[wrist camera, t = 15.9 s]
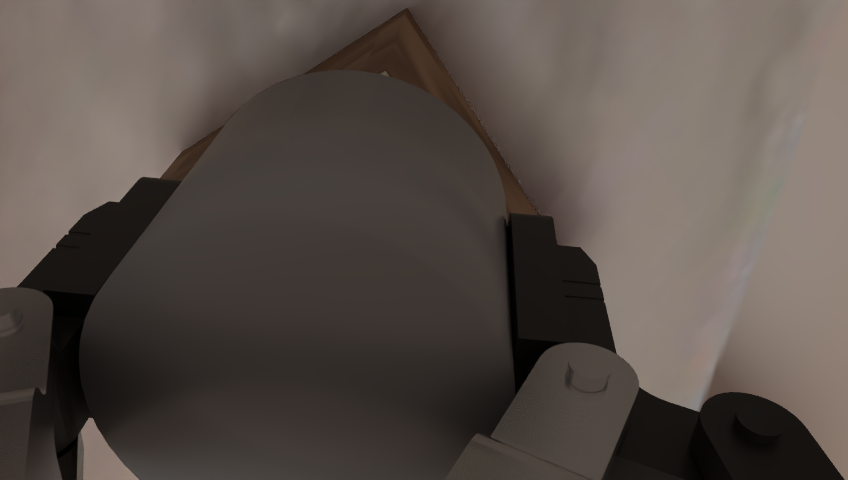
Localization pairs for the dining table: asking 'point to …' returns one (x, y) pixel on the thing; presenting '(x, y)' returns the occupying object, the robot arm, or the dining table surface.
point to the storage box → (405, 60)
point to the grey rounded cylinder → (312, 296)
